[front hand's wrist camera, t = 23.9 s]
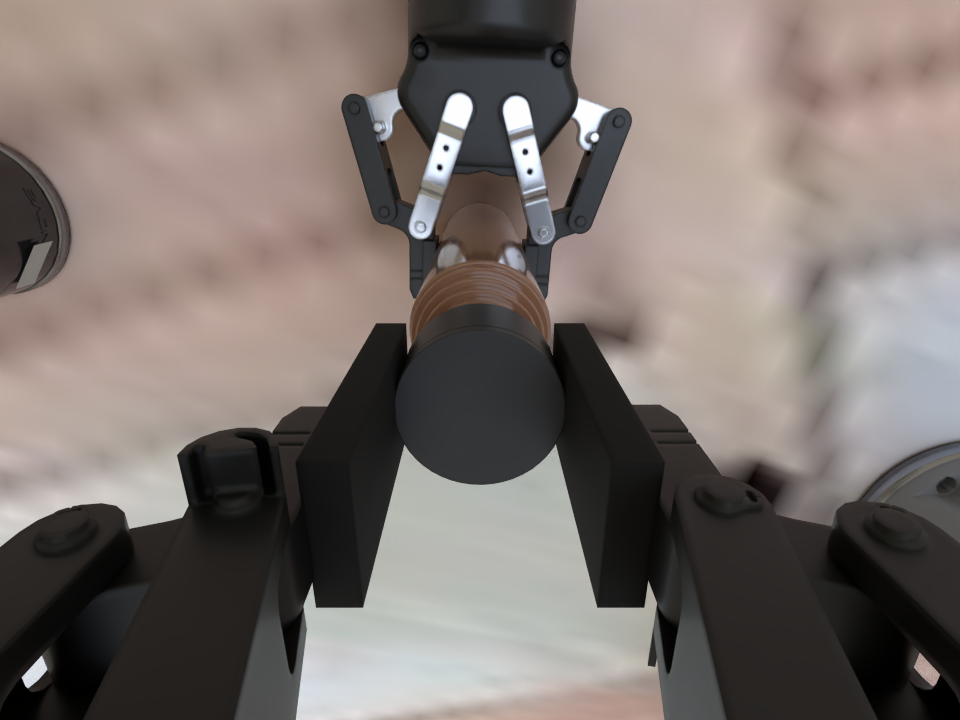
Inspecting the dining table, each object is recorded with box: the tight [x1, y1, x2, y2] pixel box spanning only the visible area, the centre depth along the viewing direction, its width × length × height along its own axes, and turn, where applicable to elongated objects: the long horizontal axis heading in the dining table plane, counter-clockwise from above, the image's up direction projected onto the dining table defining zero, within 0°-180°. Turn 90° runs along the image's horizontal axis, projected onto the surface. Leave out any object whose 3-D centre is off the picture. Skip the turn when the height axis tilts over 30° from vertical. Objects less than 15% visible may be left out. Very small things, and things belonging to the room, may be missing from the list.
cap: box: [395, 303, 565, 485], centre depth 13 cm, size 4×4×2 cm
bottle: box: [410, 203, 551, 344], centre depth 24 cm, size 4×4×23 cm
